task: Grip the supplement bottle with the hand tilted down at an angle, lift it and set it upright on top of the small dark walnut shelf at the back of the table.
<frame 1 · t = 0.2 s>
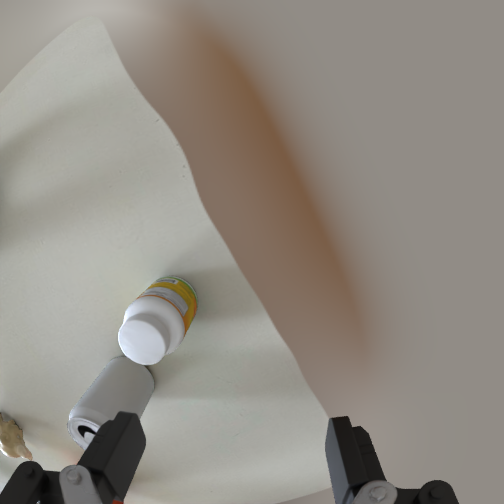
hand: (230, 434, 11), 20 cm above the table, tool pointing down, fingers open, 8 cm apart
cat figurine: (15, 425, 38), on the table
beverage can: (132, 375, 33), on the table
supplement bottle: (174, 299, 31), on the table
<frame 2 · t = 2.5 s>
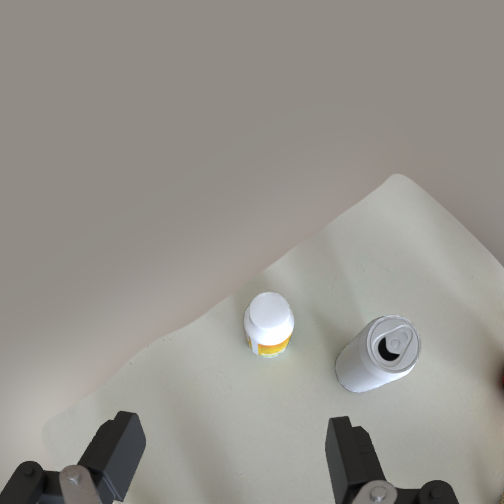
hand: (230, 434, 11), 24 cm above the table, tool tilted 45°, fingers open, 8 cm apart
beverage can: (357, 368, 35), on the table
supplement bottle: (267, 337, 38), on the table
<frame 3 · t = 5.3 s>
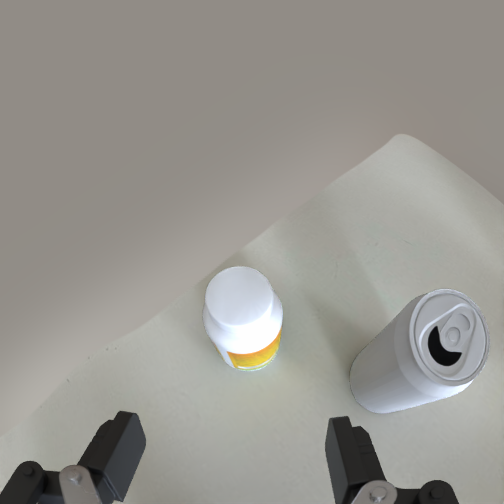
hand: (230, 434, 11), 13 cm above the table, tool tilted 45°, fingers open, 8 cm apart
beverage can: (381, 379, 23), on the table
supplement bottle: (248, 342, 26), on the table
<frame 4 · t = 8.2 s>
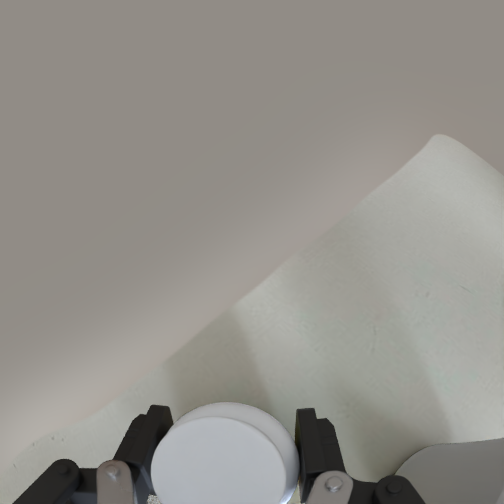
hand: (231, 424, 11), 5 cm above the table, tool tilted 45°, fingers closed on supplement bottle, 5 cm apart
beverage can: (424, 488, 12), on the table
supplement bottle: (242, 453, 15), on the table, touching gripper
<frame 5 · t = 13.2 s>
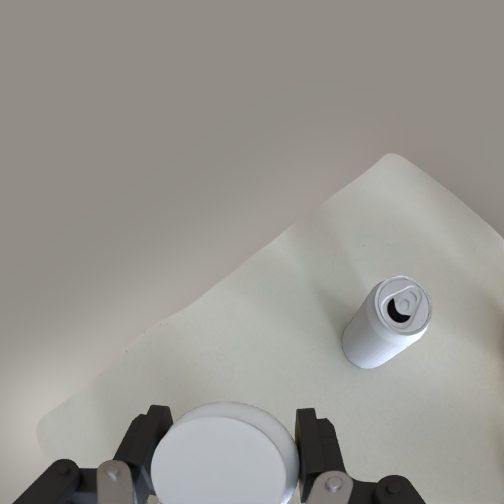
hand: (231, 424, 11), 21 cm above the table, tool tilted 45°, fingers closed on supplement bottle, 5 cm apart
beverage can: (365, 344, 34), on the table
supplement bottle: (242, 453, 15), point 16 cm above the table, touching gripper
when the fingers open (13 cm above the table, at t = 18.5 s): supplement bottle stays where it is, resting on shelf.
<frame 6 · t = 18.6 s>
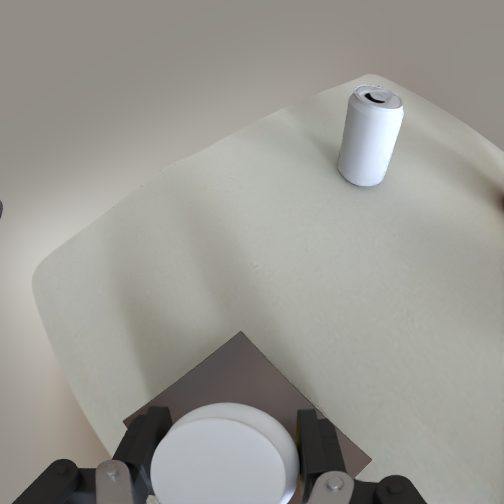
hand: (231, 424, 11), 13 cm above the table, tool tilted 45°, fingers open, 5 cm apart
shelf: (250, 444, 22), on the table
beverage can: (360, 174, 38), on the table
supplement bottle: (242, 453, 15), point 8 cm above the table, touching shelf
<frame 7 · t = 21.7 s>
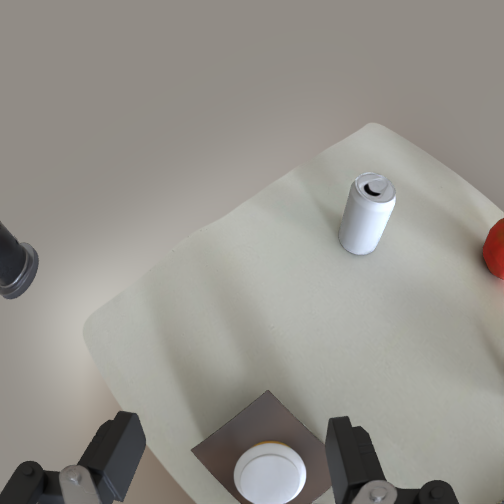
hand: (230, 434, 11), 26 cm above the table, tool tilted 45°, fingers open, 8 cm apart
shelf: (270, 457, 30), on the table
beverage can: (356, 241, 47), on the table
supplement bottle: (270, 465, 24), point 8 cm above the table, touching shelf
apple: (494, 265, 42), on the table
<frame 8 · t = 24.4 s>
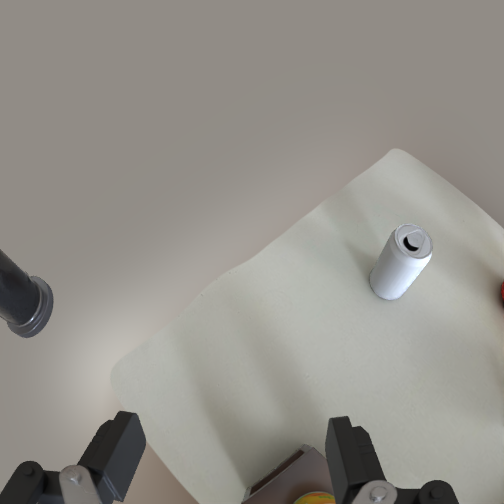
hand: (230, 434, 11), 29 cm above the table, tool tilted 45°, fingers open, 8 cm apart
shelf: (306, 496, 29), on the table
beverage can: (386, 284, 46), on the table
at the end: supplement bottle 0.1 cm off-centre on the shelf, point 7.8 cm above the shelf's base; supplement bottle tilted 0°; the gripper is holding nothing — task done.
